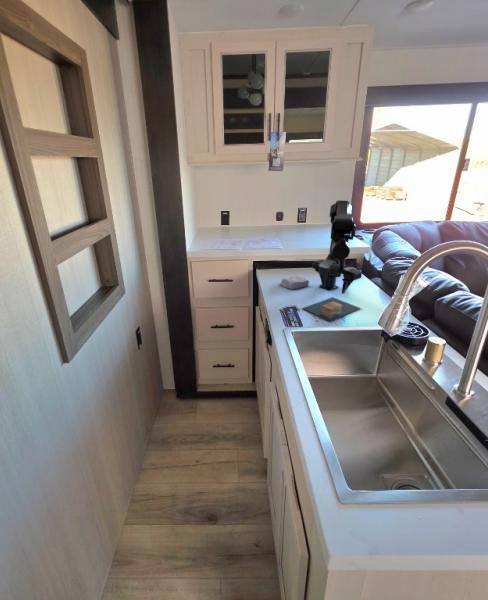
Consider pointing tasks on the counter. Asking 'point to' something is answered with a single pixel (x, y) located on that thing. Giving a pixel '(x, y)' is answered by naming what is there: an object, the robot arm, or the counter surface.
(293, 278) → the stone block
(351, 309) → the slate mat
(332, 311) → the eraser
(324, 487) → the counter surface
